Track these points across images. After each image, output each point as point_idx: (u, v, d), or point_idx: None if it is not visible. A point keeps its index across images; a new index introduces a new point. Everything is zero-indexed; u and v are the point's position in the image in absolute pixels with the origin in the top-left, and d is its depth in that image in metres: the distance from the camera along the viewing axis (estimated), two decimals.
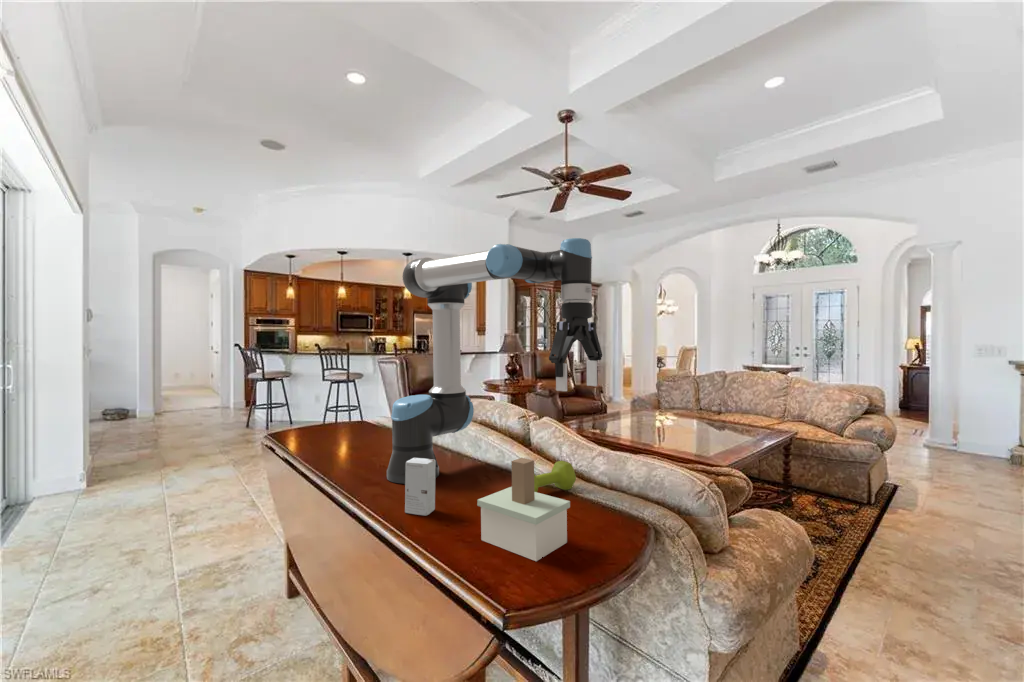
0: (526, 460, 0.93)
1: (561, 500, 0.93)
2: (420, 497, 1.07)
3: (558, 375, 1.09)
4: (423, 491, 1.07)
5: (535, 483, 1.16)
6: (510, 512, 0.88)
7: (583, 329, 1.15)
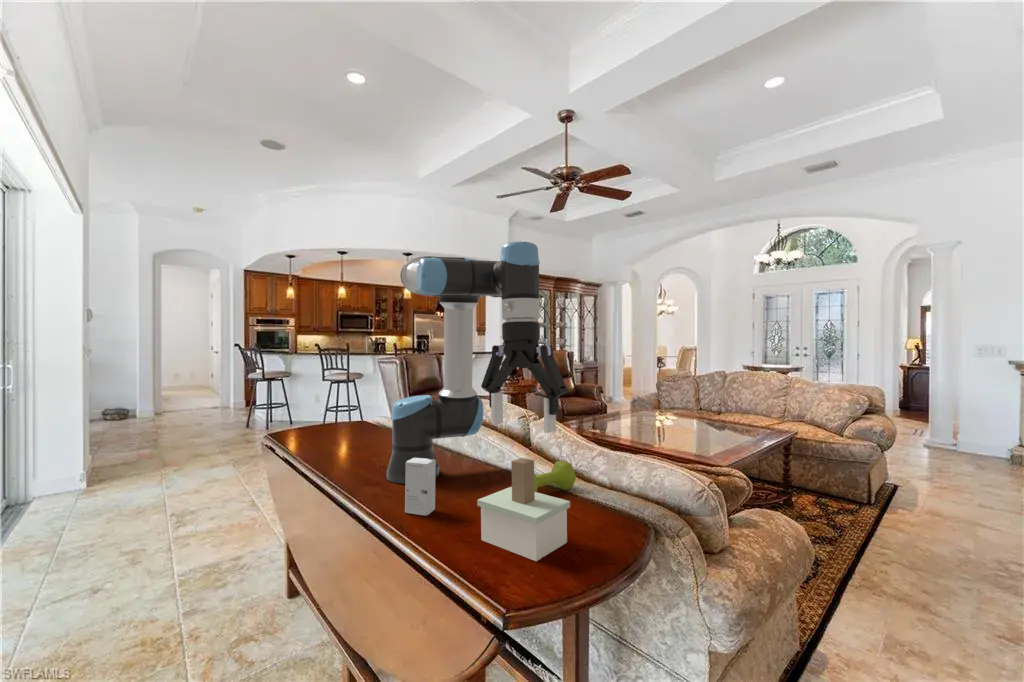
0: (526, 460, 0.93)
1: (561, 500, 0.93)
2: (420, 497, 1.07)
3: None
4: (423, 491, 1.07)
5: (535, 483, 1.16)
6: (510, 512, 0.88)
7: None
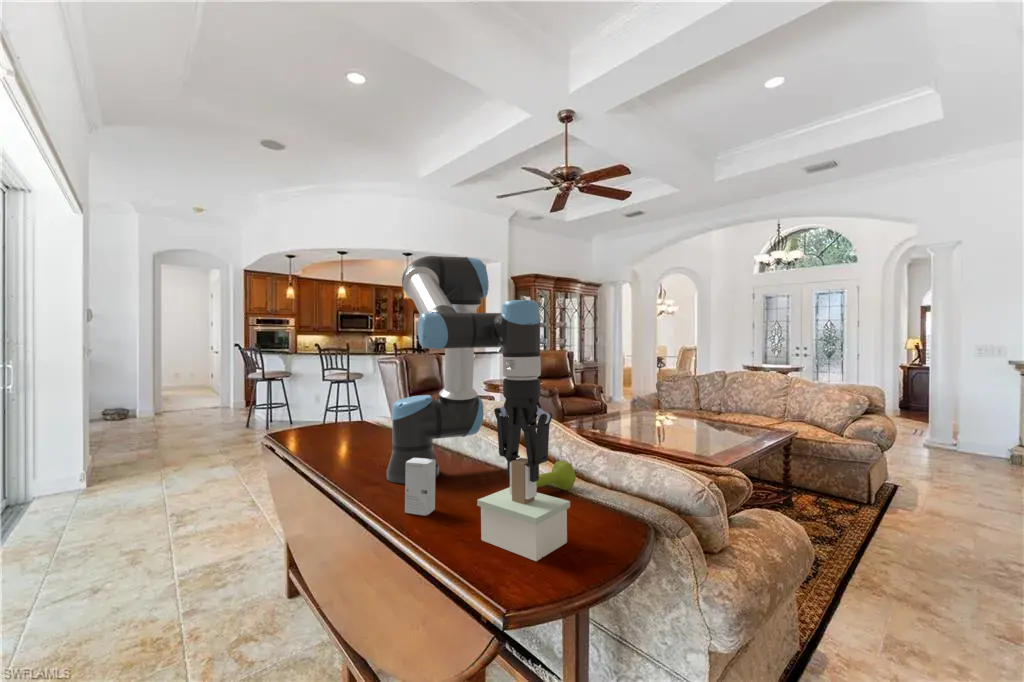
0: (526, 460, 0.93)
1: (561, 500, 0.93)
2: (419, 497, 1.07)
3: None
4: (423, 491, 1.07)
5: None
6: (510, 512, 0.88)
7: None
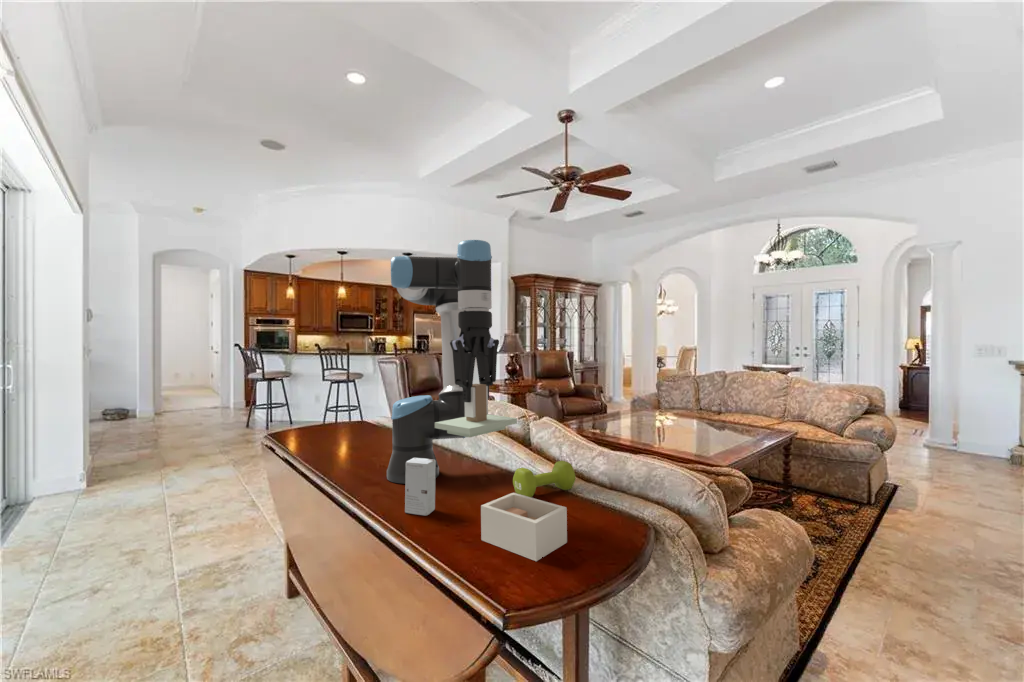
0: (475, 384, 1.05)
1: None
2: (420, 497, 1.07)
3: (465, 400, 1.01)
4: (423, 491, 1.07)
5: (533, 482, 1.16)
6: (498, 424, 1.02)
7: (482, 339, 1.04)
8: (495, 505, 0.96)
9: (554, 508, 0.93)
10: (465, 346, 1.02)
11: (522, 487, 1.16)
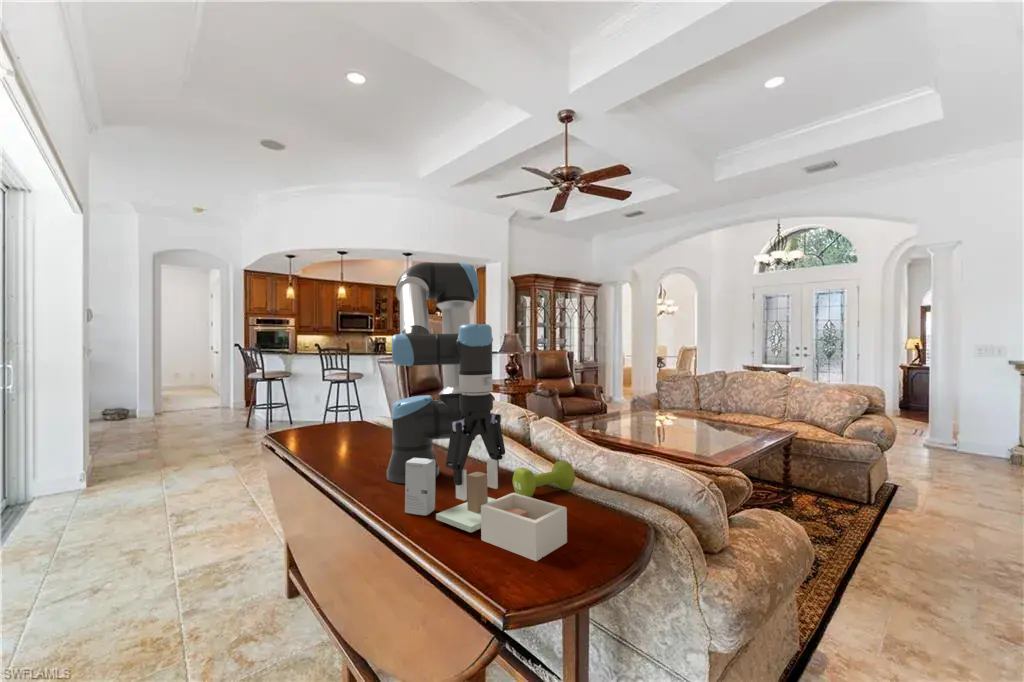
0: (476, 473, 1.05)
1: None
2: (420, 497, 1.07)
3: (456, 483, 0.99)
4: (423, 491, 1.07)
5: (533, 482, 1.16)
6: None
7: (483, 422, 1.04)
8: (495, 505, 0.96)
9: (554, 508, 0.93)
10: (466, 430, 1.02)
11: (522, 487, 1.16)
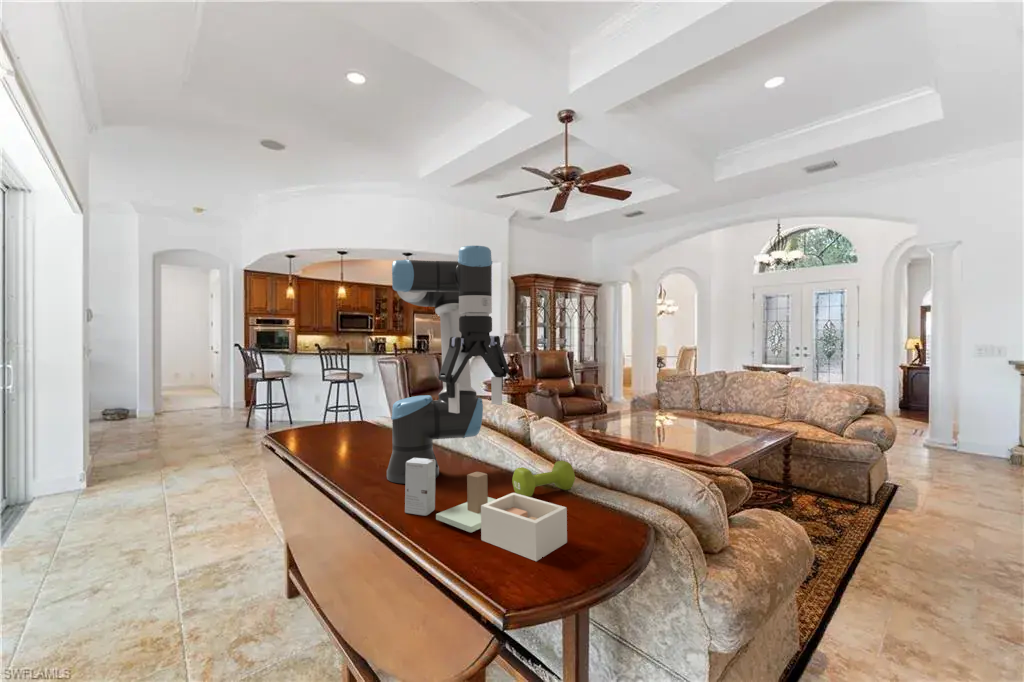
0: (476, 473, 1.05)
1: None
2: (420, 497, 1.07)
3: (449, 396, 1.00)
4: (423, 491, 1.07)
5: (532, 482, 1.16)
6: None
7: (482, 344, 1.05)
8: (495, 505, 0.96)
9: (554, 508, 0.93)
10: (465, 350, 1.04)
11: (521, 486, 1.17)
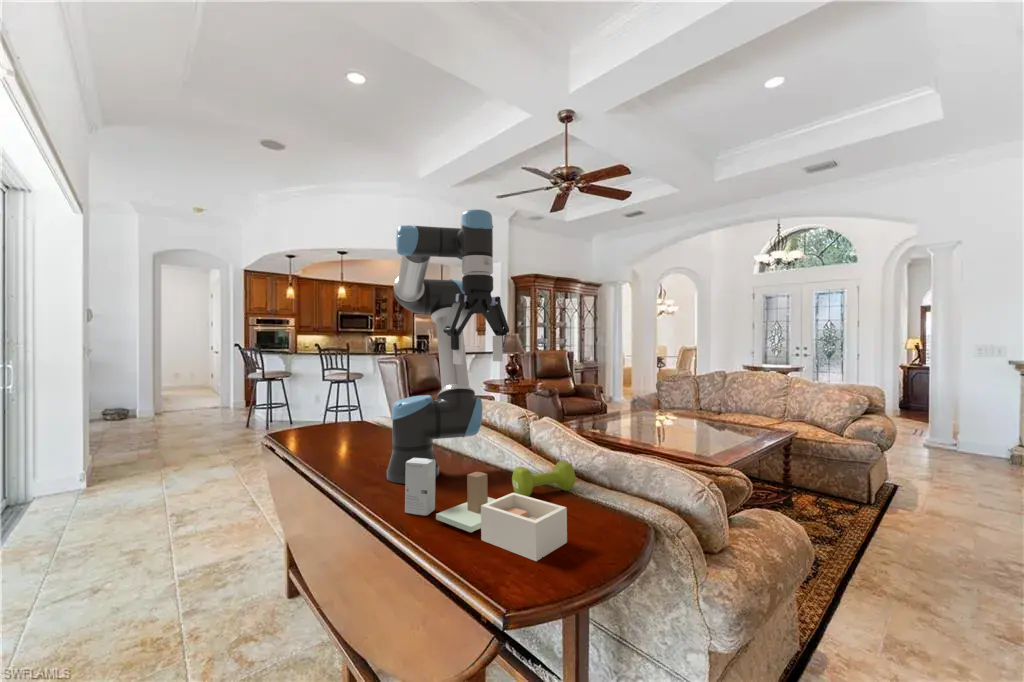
0: (476, 473, 1.05)
1: None
2: (420, 497, 1.07)
3: (453, 348, 1.07)
4: (423, 491, 1.07)
5: (530, 481, 1.17)
6: None
7: (484, 302, 1.13)
8: (495, 505, 0.96)
9: (554, 508, 0.93)
10: (468, 307, 1.11)
11: (519, 486, 1.17)
